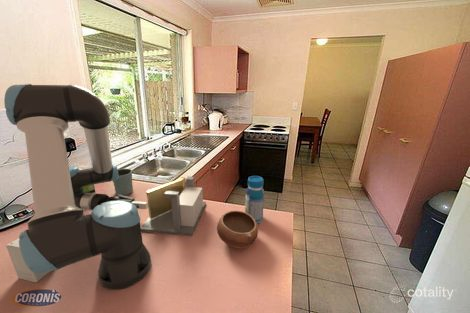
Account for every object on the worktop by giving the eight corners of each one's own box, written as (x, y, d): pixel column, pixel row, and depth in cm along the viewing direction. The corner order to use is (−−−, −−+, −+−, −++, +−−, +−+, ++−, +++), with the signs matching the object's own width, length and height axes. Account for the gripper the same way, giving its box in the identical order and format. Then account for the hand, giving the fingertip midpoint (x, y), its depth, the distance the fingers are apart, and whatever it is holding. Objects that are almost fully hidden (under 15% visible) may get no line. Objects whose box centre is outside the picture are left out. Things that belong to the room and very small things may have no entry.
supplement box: (37, 283, 64) (24, 249, 60) (17, 278, 65) (4, 245, 61) (60, 264, 71) (51, 232, 67) (42, 260, 72) (32, 229, 68)
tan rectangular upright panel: (187, 202, 106) (186, 178, 101) (152, 219, 92) (148, 192, 88) (184, 200, 107) (183, 177, 103) (149, 217, 93) (145, 190, 89)
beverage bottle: (255, 226, 92) (257, 184, 85) (240, 218, 97) (241, 178, 91) (266, 218, 97) (269, 178, 91) (251, 211, 103) (254, 173, 96)
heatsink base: (205, 204, 108) (204, 172, 103) (192, 235, 85) (190, 197, 80) (163, 201, 110) (160, 170, 104) (139, 231, 87) (134, 193, 82)
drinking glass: (128, 186, 125) (125, 167, 121) (138, 191, 120) (135, 171, 116) (110, 192, 117) (107, 172, 113) (120, 198, 112) (116, 177, 108)
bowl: (250, 260, 74) (252, 236, 71) (210, 248, 79) (209, 225, 76) (261, 233, 88) (262, 212, 85) (226, 224, 93) (226, 204, 90)
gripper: (106, 201, 102) (154, 205, 100) (86, 217, 90) (140, 222, 88) (104, 187, 99) (152, 191, 98) (82, 202, 87) (137, 206, 85)
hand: (146, 205), depth 93 cm, fingers closed
